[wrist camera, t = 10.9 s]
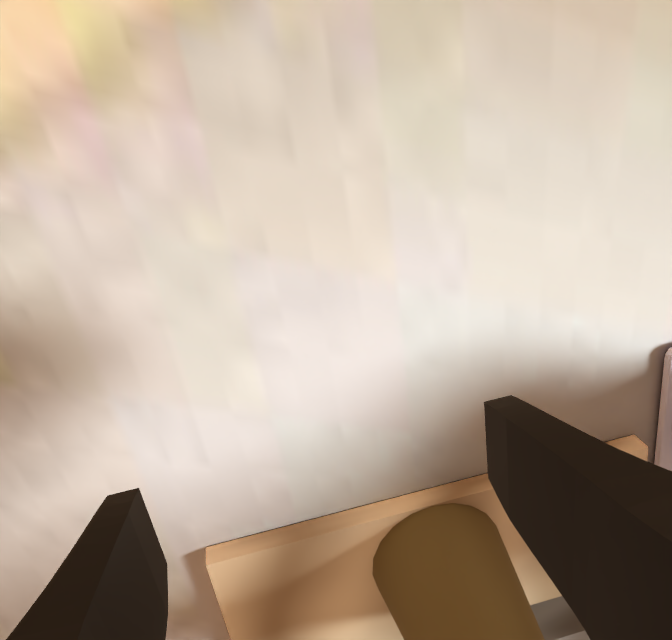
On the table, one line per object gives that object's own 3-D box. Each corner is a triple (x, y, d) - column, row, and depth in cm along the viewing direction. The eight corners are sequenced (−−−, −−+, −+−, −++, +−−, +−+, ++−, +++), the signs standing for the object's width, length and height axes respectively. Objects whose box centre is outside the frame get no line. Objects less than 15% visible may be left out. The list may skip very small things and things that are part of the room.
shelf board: (634, 434, 28) (680, 474, 25) (623, 574, 32) (662, 622, 29) (205, 547, 25) (205, 605, 23) (250, 683, 29) (255, 746, 27)
